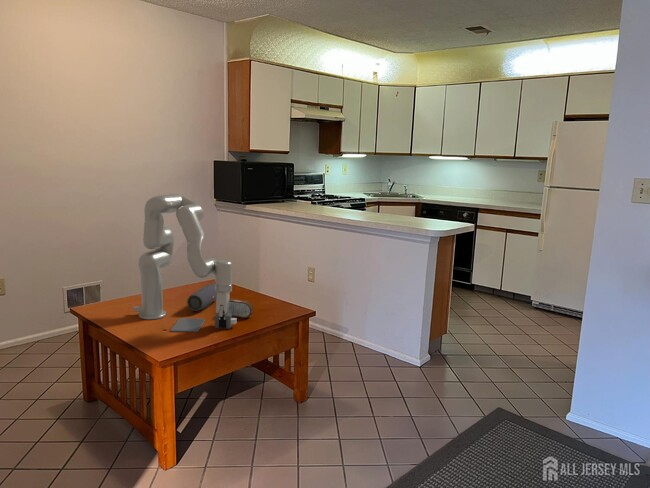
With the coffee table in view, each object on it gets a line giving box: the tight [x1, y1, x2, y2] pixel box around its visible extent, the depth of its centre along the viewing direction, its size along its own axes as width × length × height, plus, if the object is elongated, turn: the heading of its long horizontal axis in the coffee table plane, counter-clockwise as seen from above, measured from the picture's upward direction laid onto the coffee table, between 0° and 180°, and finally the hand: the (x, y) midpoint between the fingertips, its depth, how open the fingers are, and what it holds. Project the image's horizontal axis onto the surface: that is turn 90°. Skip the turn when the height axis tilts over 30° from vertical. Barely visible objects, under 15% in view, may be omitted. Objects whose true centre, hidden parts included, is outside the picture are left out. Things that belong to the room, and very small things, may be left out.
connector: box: [214, 312, 238, 330], centre depth 221 cm, size 9×4×6 cm, turn 93°
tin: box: [227, 298, 254, 319], centre depth 236 cm, size 15×3×8 cm, turn 74°
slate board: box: [170, 317, 206, 333], centre depth 221 cm, size 12×16×1 cm
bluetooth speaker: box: [186, 283, 217, 312], centre depth 249 cm, size 23×9×10 cm, turn 168°
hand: (223, 325), depth 222 cm, fingers closed on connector, 3 cm apart
